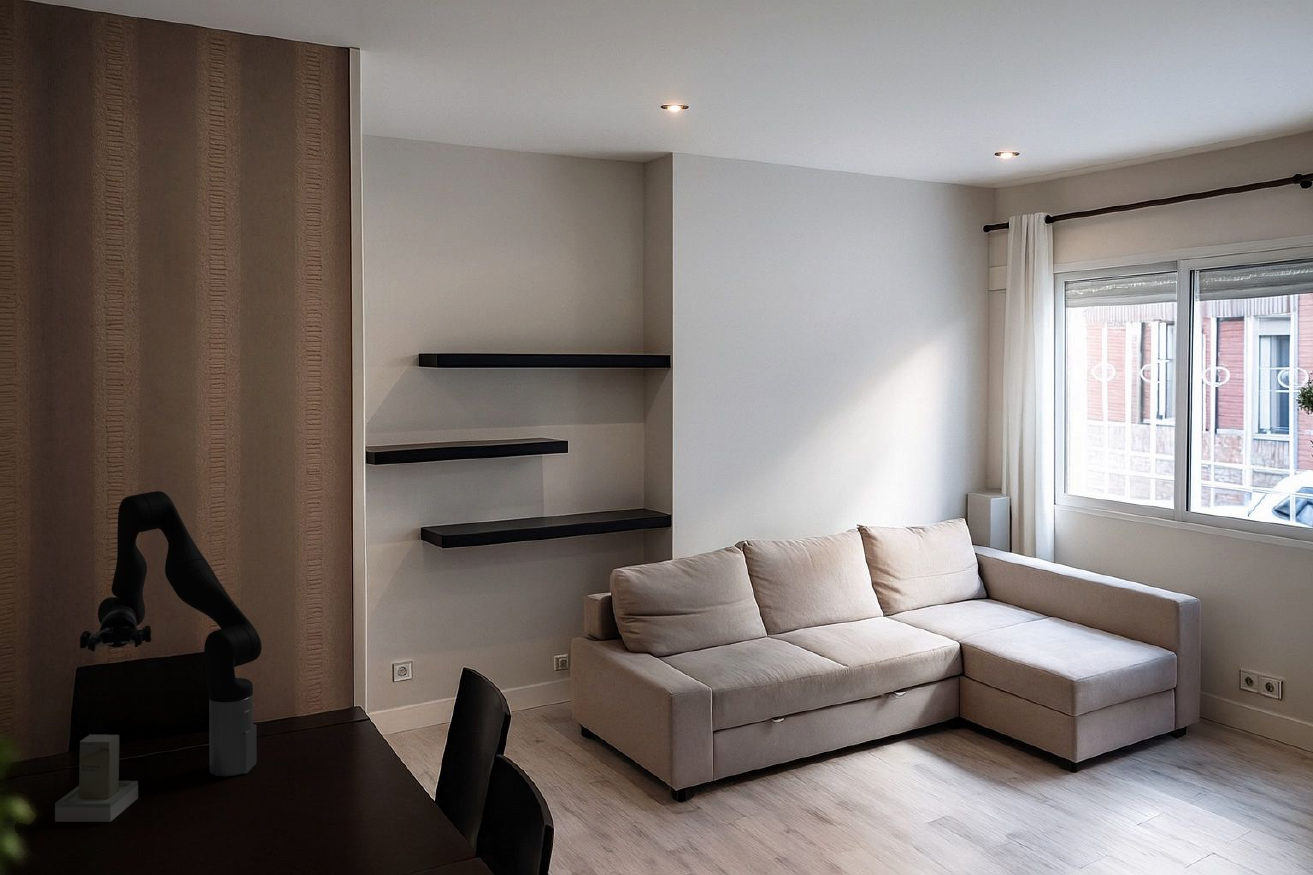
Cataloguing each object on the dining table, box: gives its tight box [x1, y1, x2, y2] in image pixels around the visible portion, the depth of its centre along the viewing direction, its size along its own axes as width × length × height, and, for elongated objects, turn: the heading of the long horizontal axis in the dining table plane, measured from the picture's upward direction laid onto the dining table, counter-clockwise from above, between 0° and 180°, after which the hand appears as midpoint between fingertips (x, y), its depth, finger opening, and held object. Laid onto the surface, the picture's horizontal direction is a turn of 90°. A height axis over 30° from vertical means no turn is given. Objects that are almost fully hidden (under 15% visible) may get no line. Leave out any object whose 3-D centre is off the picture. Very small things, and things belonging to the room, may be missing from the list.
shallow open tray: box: [54, 780, 139, 823], centre depth 197 cm, size 11×11×4 cm
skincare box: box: [78, 733, 120, 799], centre depth 197 cm, size 6×4×12 cm
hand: (114, 644), depth 213 cm, fingers open, 8 cm apart
